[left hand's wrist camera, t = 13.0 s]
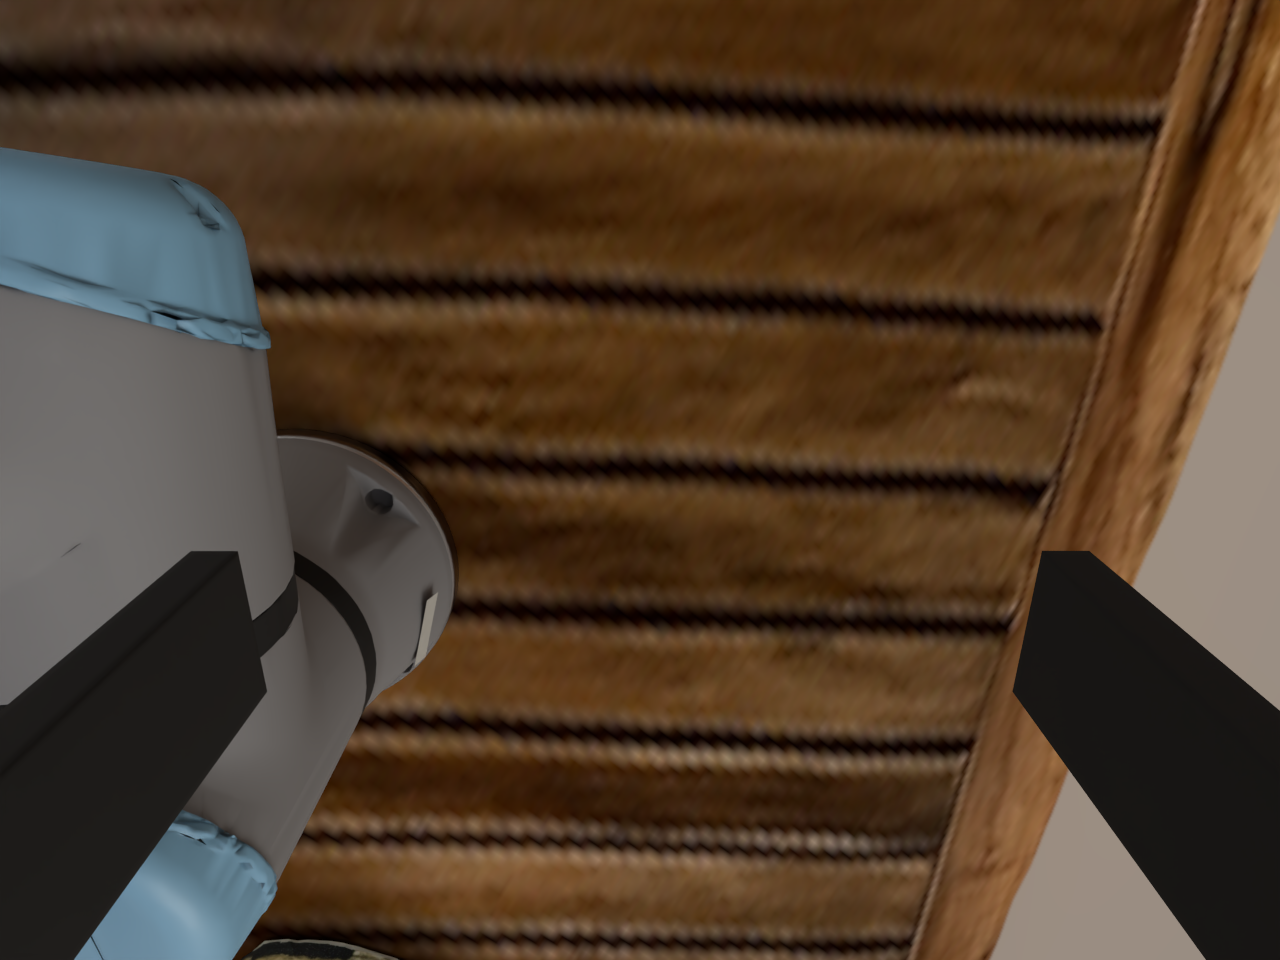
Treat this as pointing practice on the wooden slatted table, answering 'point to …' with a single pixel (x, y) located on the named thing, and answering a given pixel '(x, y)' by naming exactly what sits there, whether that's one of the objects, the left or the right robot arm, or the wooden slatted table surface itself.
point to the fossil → (312, 951)
